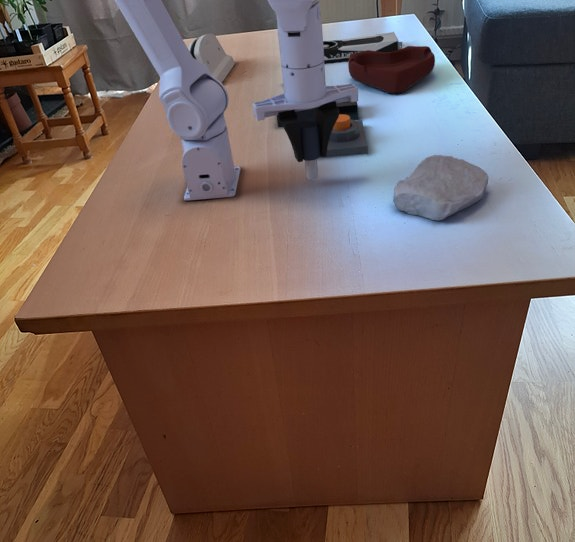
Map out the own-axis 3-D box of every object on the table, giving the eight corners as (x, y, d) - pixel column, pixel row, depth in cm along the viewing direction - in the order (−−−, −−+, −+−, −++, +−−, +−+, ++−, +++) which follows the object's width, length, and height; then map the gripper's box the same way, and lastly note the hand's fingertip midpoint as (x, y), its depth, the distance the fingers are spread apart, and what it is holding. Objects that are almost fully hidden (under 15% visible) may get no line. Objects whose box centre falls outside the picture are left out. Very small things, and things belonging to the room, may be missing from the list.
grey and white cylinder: (322, 181, 81) (318, 127, 76) (302, 183, 82) (297, 129, 76) (322, 172, 84) (318, 118, 79) (302, 173, 84) (297, 120, 79)
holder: (358, 120, 102) (357, 104, 100) (278, 127, 103) (276, 112, 101) (355, 108, 107) (355, 92, 105) (279, 115, 108) (277, 100, 106)
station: (367, 154, 90) (367, 136, 88) (319, 158, 91) (317, 141, 89) (362, 127, 99) (361, 111, 97) (318, 131, 100) (316, 115, 98)
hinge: (219, 85, 126) (197, 44, 121) (202, 93, 128) (179, 53, 123) (235, 62, 139) (215, 24, 134) (219, 70, 141) (199, 32, 136)
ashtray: (352, 101, 110) (351, 75, 107) (347, 74, 123) (346, 51, 120) (443, 92, 108) (444, 66, 105) (428, 66, 121) (429, 43, 118)
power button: (351, 130, 92) (350, 120, 91) (331, 132, 92) (331, 122, 91) (349, 123, 95) (349, 113, 94) (331, 124, 95) (330, 115, 94)
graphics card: (402, 40, 127) (295, 52, 129) (402, 55, 129) (297, 66, 131) (396, 29, 135) (295, 40, 137) (396, 43, 137) (297, 54, 139)
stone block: (489, 198, 78) (427, 171, 83) (499, 171, 75) (434, 144, 79) (450, 241, 72) (385, 209, 76) (459, 213, 68) (391, 181, 73)
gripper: (344, 45, 77) (348, 136, 85) (243, 64, 75) (257, 155, 83) (362, 58, 71) (364, 154, 79) (253, 79, 69) (267, 175, 77)
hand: (310, 156), depth 81 cm, fingers closed on grey and white cylinder, 3 cm apart
